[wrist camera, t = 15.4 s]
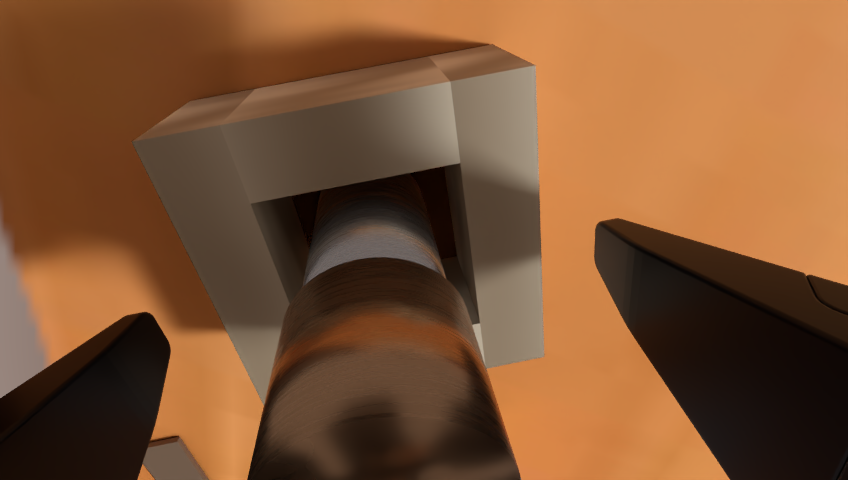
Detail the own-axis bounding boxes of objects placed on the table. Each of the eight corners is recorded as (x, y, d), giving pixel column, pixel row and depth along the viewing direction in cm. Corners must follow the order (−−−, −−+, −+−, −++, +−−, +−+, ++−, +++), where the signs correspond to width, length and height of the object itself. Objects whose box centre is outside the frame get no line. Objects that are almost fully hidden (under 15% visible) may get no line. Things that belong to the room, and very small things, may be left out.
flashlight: (439, 247, 13) (526, 550, 6) (328, 269, 13) (292, 601, 6) (421, 139, 11) (513, 390, 4) (294, 164, 11) (191, 457, 4)
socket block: (492, 44, 10) (535, 64, 8) (510, 286, 14) (544, 356, 11) (189, 101, 10) (131, 141, 8) (285, 332, 14) (268, 413, 11)
